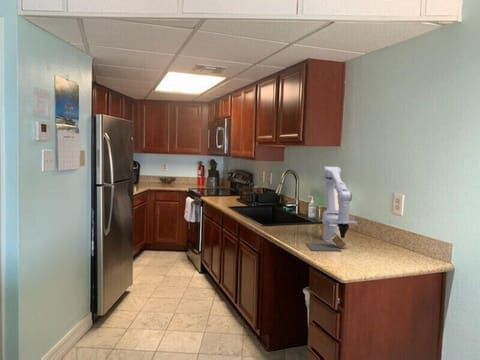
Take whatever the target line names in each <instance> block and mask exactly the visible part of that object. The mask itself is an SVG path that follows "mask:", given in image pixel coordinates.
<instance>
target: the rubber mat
mask: <svg viewBox="0 0 480 360" xmlns="http://www.w3.org/2000/svg"><path fill="white" fill-rule="evenodd" d="M305 245H306V247H308V248H309V250H310V251H311V252H335V253H336V252H337V253H338V252H342V249H340V248H339V247H338V246H337V245H336V244H335V243H319V242H318V243H313V242H309V243H307V242H306V243H305Z"/></svg>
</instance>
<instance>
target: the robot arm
mask: <svg viewBox="0 0 480 360" xmlns="http://www.w3.org/2000/svg"><path fill="white" fill-rule="evenodd" d="M321 175H322V176H321V177H322V179H321V180H322V181H323V182H324V185H325V196H326V197H325V198H326V210H324V211H323V212H322V218H321V222H322V224H323V225H324V227H323V234H322V235H323V236H322V237H321V239H322V240H323V241H324V242H326V243H327V242H329V243H334V242H333V241H332V240H331V239H330V237H329V236H330V235H332V234H333V233H334V232H335V233H336V234H337V235H338V231H339V234H340V238H341V239H345V236H346V233H347V230H349V229H350V225H351V226H353V225H354V226H357V225H358V221H356V220H350V209H351V208H350V203H351V201H352V200H353V194H352V191H351V190H349V189H348V188H347V185H346V183H345V182H343V181H342V178H341V175H342V170H341V167H340V166H326V165H324V166H323V167H322V169H321ZM334 183H335V184H334ZM335 191H336V193H337V195H336V196H337V204H338V210H337V209H336V200H335V198H336V197H335Z"/></svg>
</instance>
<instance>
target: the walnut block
mask: <svg viewBox="0 0 480 360" xmlns="http://www.w3.org/2000/svg"><path fill="white" fill-rule="evenodd" d="M329 237H330V239H331V240H332V241H333V242H332V243H333V244H335V245H336V246H337V247H338V248H339V249H340V250H342V249H343V248H344V247H345V246H346V245H347V243H346V242H345V240H343V238H341V236H339V234H338V233H337V234H336V233H335V232H334V233H333V234H332V235H330V236H329Z"/></svg>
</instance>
